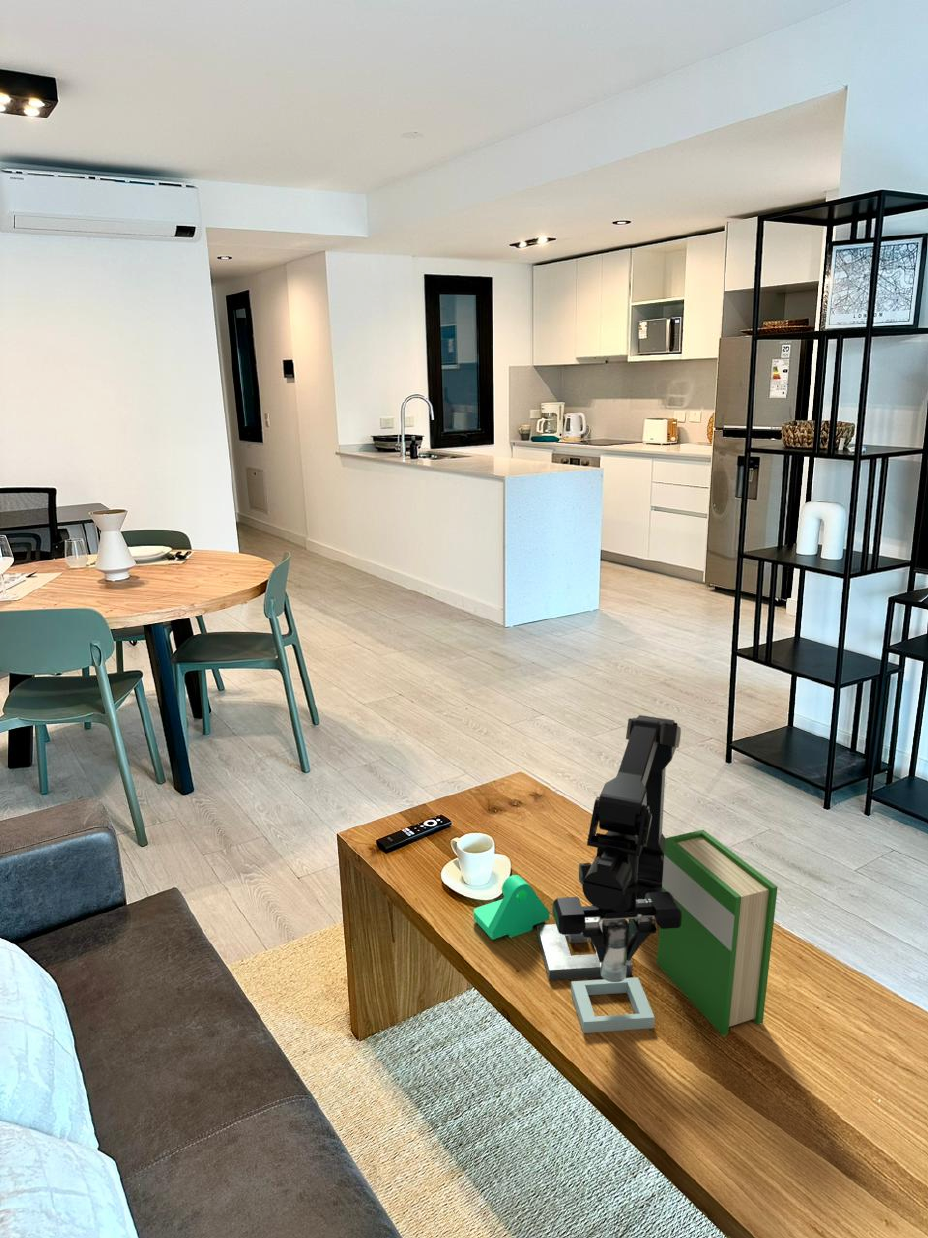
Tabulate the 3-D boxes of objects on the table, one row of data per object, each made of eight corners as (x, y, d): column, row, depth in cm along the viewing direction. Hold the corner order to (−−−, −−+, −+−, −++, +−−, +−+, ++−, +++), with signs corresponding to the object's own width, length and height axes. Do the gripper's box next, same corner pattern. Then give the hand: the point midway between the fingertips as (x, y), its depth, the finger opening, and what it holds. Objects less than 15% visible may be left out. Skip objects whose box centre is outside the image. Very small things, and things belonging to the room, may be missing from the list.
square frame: (637, 987, 137) (637, 977, 137) (653, 1028, 129) (654, 1017, 128) (570, 992, 136) (571, 981, 136) (583, 1033, 128) (583, 1022, 127)
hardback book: (762, 1023, 130) (777, 886, 123) (723, 1036, 127) (736, 897, 121) (693, 953, 145) (703, 829, 139) (656, 964, 143) (665, 838, 136)
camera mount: (526, 903, 160) (527, 855, 157) (549, 925, 154) (550, 875, 151) (471, 921, 155) (471, 872, 152) (492, 945, 148) (492, 894, 145)
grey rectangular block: (577, 914, 156) (577, 902, 156) (587, 942, 149) (587, 929, 148) (561, 915, 156) (561, 903, 155) (570, 943, 148) (570, 930, 148)
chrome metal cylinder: (622, 964, 133) (624, 915, 130) (629, 981, 129) (632, 931, 127) (597, 965, 133) (599, 916, 130) (603, 983, 129) (605, 932, 126)
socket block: (613, 930, 152) (614, 920, 151) (632, 975, 140) (632, 965, 140) (537, 934, 151) (537, 925, 150) (549, 980, 139) (549, 970, 138)
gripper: (662, 839, 134) (656, 924, 139) (546, 845, 133) (544, 930, 137) (685, 879, 124) (679, 969, 128) (560, 886, 122) (558, 977, 126)
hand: (613, 959), depth 130 cm, fingers closed on chrome metal cylinder, 4 cm apart
